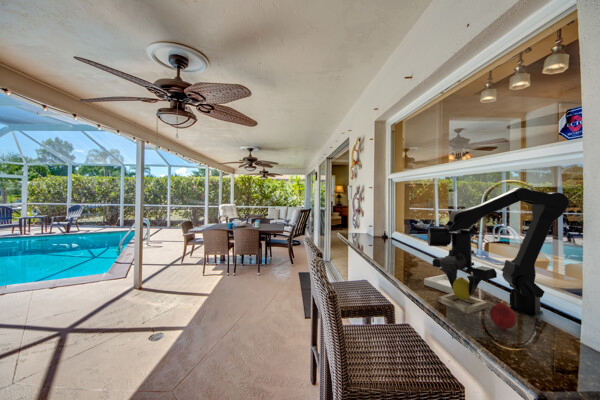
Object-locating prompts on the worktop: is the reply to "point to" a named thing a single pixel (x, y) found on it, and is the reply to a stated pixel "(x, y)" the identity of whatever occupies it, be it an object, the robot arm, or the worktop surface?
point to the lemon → (461, 288)
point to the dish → (439, 283)
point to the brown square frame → (469, 309)
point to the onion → (503, 315)
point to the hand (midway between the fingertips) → (462, 292)
